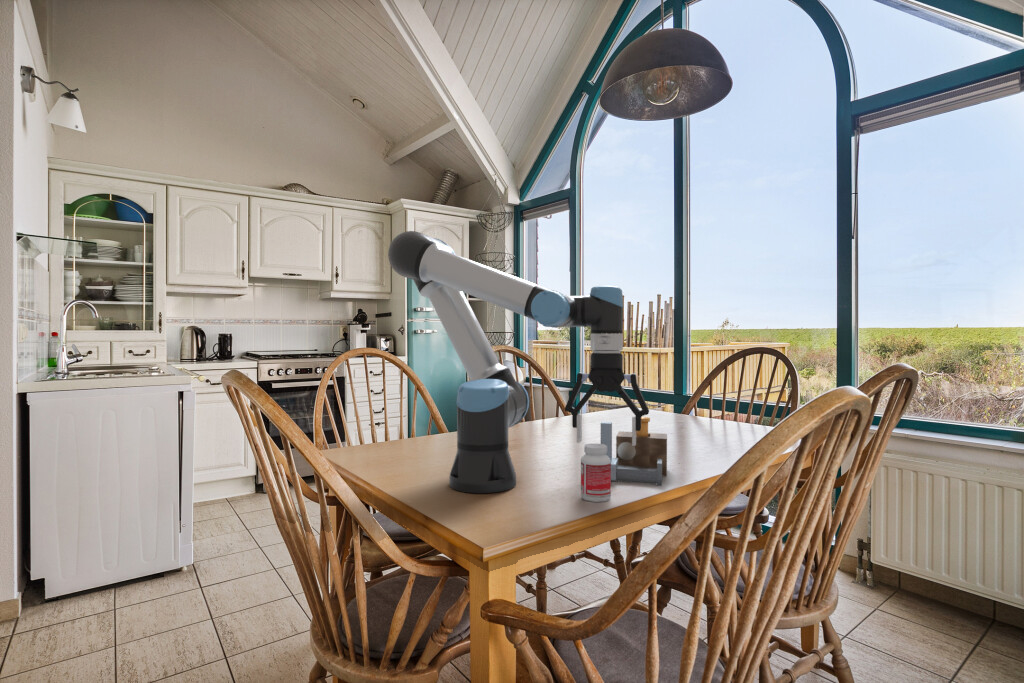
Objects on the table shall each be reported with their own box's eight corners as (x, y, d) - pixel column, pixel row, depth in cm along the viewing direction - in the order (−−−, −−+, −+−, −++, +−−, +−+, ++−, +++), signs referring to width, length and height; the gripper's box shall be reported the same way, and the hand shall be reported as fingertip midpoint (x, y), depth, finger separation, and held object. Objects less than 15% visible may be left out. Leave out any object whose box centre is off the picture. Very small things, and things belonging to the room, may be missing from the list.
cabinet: (616, 472, 133) (616, 436, 133) (618, 465, 140) (618, 431, 140) (666, 476, 130) (666, 439, 130) (666, 469, 137) (667, 433, 136)
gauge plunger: (633, 446, 134) (633, 418, 134) (634, 443, 137) (634, 416, 137) (649, 446, 133) (649, 419, 132) (650, 443, 136) (650, 417, 136)
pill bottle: (616, 499, 111) (617, 446, 111) (594, 504, 108) (594, 449, 108) (596, 492, 117) (596, 441, 116) (574, 496, 113) (574, 444, 113)
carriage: (593, 479, 125) (593, 424, 125) (597, 472, 132) (597, 419, 131) (615, 481, 124) (615, 425, 123) (618, 473, 130) (618, 420, 130)
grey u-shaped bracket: (586, 479, 126) (586, 458, 126) (589, 474, 131) (589, 454, 131) (661, 485, 122) (661, 463, 121) (662, 480, 126) (662, 458, 126)
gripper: (552, 352, 127) (552, 443, 127) (659, 353, 120) (659, 449, 120) (558, 351, 134) (558, 437, 135) (660, 352, 127) (660, 442, 128)
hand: (606, 443), depth 127 cm, fingers open, 12 cm apart
